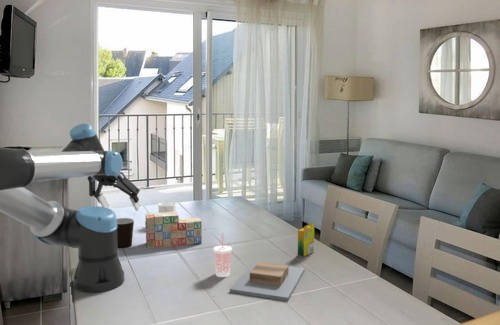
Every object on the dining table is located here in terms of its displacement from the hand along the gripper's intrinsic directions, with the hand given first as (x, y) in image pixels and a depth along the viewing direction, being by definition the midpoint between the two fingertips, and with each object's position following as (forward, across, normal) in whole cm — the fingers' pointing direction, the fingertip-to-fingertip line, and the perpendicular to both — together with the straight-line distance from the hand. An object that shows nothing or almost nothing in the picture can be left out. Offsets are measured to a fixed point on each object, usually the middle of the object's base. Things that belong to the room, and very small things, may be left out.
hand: (122, 208), depth 172 cm
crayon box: (+29, -65, -5) cm, 71 cm away
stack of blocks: (+22, -13, -2) cm, 25 cm away
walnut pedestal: (+13, -59, +20) cm, 63 cm away
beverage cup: (+12, -43, +19) cm, 48 cm away
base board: (+13, -59, +20) cm, 63 cm away
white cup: (+31, +1, -21) cm, 37 cm away
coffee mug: (+16, +4, +4) cm, 17 cm away
